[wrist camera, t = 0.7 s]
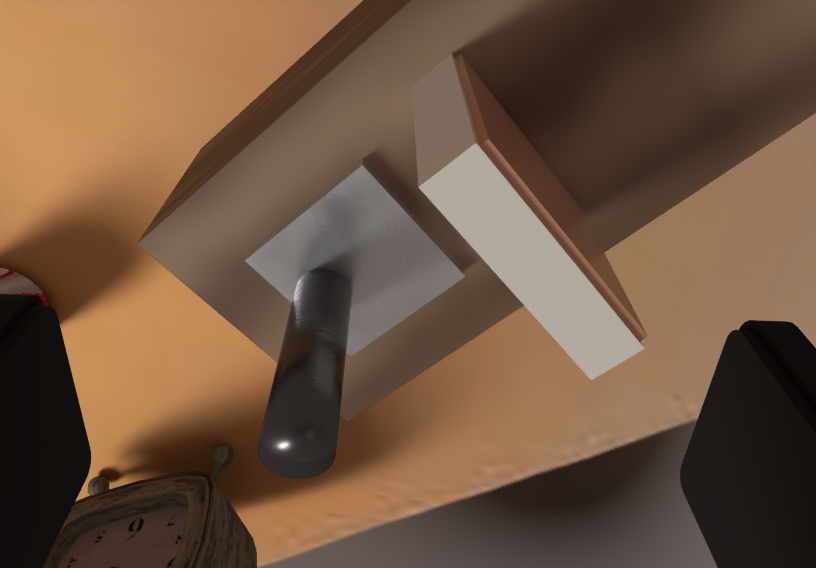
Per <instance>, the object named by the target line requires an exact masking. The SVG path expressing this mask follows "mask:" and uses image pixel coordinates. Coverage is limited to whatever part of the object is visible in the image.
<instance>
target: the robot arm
mask: <svg viewBox="0 0 816 568" xmlns="http://www.w3.org/2000/svg"><path fill="white" fill-rule="evenodd" d="M90 464H91V450H90V445H89V441H88V437H87V433H86V429H85V425H84V421H83V417H82V413H81V409H80V405H79V401H78V397H77V393H76V389H75V385H74V381H73V377H72V373H71V369H70V365H69V361H68V357H67V353H66V349H65V344H64V340H63V336H62V332H61V328H60V324H59V320H58V316H57V314H56V311H55V310H54V308H53V307H50V306H44V304H43V302H42V300H41V299H40V298H39V297H38V296H36V295H21V294H0V568H42V567H43V565H44V563H45V561H46V559H47V557H48V555H49V553H50V551H51V549H52V547H53V545H54V543H55V541H56V539H57V537H58V535H59V533H60V531H61V529H62V527H63V525H64V523H65V521H66V519H67V517H68V515H69V513H70V511H71V509H72V507H73V505H74V503H75V501H76V499H77V497H78V495H79V493H80V490H81V488H82V486H83V484H84V482H85V480H86V478H87V476H88V473H89V469H90ZM680 480H681V486H682V489H683V492H684V495H685V497H686V499H687V501H688V503H689V505H690V508H691V510H692V512H693V514H694V516H695V518H696V521H697V523H698V525H699V527H700V530H701V532H702V534H703V536H704V538H705V541H706V543H707V545H708V547H709V549H710V551H711V554H712V556H713V558H714V560H715V562H716V564H717V567H718V568H816V348H815V347H814V346H813V345H812V343H811V342H810V341H809V340H808V339H807V338H806V336H805V335H804V334H803V333H802V332H801V331H800V329H799V328H798V327H797V326H796V325H794V324H793V323H791V322H784V321H756V320H749V321H747V322H745V323H744V324H743V325H742V326H741V327H740V329H739V330H734V331H732V332H731V333H730V334H729V335H728V337H727V339H726V342H725V345H724V347H723V350H722V353H721V356H720V359H719V361H718V364H717V367H716V370H715V373H714V375H713V378H712V381H711V384H710V387H709V389H708V392H707V395H706V398H705V401H704V403H703V406H702V409H701V412H700V415H699V417H698V420H697V423H696V426H695V429H694V432H693V434H692V437H691V440H690V443H689V445H688V449H687V451H686V454H685V457H684V460H683V462H682V465H681V471H680Z"/></svg>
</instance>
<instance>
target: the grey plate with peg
mask: <svg viewBox="0 0 816 568" xmlns="http://www.w3.org/2000/svg"><path fill="white" fill-rule="evenodd" d="M245 261H246V262H247V263H248V264H249V265H250V266H251V267H252V268H253V269H254V270H256V271H257V272H258V273H259V274H260V275H261V276H262V277H263V278H264V279H266V280H267V281H268V282H269V283H270V284H271V285H272V286H273V287H274V288H275V289H277V290H278V291H279V292H280V293H281V294H282V295H283V296H284V297H285V298H287V299H288V300H289V301H290V302H291V303H292V304H291V309H290V313H289V317H288V321H287V325H286V330H285V334H284V338H283V342H282V347H281V351H280V355H279V359H278V363H277V368H276V372H275V376H274V380H273V385H272V389H271V393H270V397H269V401H268V406H267V410H266V414H265V418H264V423H263V427H262V431H261V435H260V439H259V444H258V454H259V457H260V459H261V461H262V462H263V464H264V465H265V466H266V467H267V468H268V469H270V470H271V471H273V472H274V473H276V474H278V475H281V476H284V477H287V478H293V479H306V478H311V477H315V476H318V475H320V474H322V473H323V472H325V471H326V470H327V469H328V468H330V466H331V465H332V463H333V462H334V459H335V454H336V445H337V435H338V426H339V416H340V406H341V397H342V387H343V378H344V368H345V358H346V353H347V354H348V355H350V356H352V355H354V354H355V353H357V352H358V351H360V350H361V349H363V348H364V347H365V346H367V345H368V344H370V343H371V342H373V341H374V340H375V339H377V338H378V337H380V336H381V335H383V334H384V333H385V332H387V331H388V330H390V329H391V328H393V327H394V326H395V325H397V324H398V323H400V322H401V321H403V320H404V319H405V318H407V317H408V316H410V315H411V314H413V313H414V312H416V311H417V310H418V309H420V308H421V307H423V306H424V305H426V304H427V303H428V302H430V301H431V300H433V299H434V298H436V297H437V296H438V295H440V294H441V293H443V292H444V291H446V290H447V289H448V288H450V287H451V286H453V285H454V284H456V283H457V282H458V281H460V280H461V279H463V278H464V277H465V270H464V267H463V266H462V265H461V264H460V263H459V262H458V261H457V260H456V258H455V257H454V256H453V255H452V254H451V253H450V252H449V251H448V250H447V249H446V248H445V246H444V245H443V244H442V243H441V242H440V241H439V240H438V239H437V238H436V237H435V236H434V234H433V233H432V232H431V231H430V230H429V229H428V228H427V227H426V226H425V225H424V224H423V223H422V221H421V220H420V219H419V218H418V217H417V216H416V215H415V214H414V213H413V212H412V211H411V209H410V208H409V207H408V206H407V205H406V204H405V203H404V202H403V201H402V200H401V199H400V197H399V196H398V195H397V194H396V193H395V192H394V191H393V190H392V189H391V188H390V187H389V186H388V184H387V183H386V182H385V181H384V180H383V179H382V178H381V177H380V176H379V175H378V174H377V172H376V171H375V170H374V169H373V168H372V167H371V166H370V165H369V164H368V163H367V162H366V160H365V159H364V158H363V159H361V160H360V161H359V162H358V163H357V164H355V165H354V166H353V167H352V168H350V169H349V170H348V171H347V172H345V173H344V174H343V175H342V176H341V177H339V178H338V179H337V180H336V181H334V182H333V183H332V184H331V185H330V186H328V187H327V188H326V189H325V190H323V191H322V192H321V193H320V194H319V195H317V196H316V197H315V198H314V199H312V200H311V201H310V202H309V203H307V204H306V205H305V206H304V207H303V208H301V209H300V210H299V211H298V212H296V213H295V214H294V215H293V216H292V217H290V218H289V219H288V220H287V221H285V222H284V223H283V224H282V225H281V226H279V227H278V228H277V229H276V230H274V231H273V232H272V233H271V234H270V235H268V236H267V237H266V238H265V239H263V240H262V241H261V242H260V243H258V244H257V245H256V246H255V247H254V248H252V249H251V250H250V251H249V252H248V253H247V256H246V259H245Z"/></svg>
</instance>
